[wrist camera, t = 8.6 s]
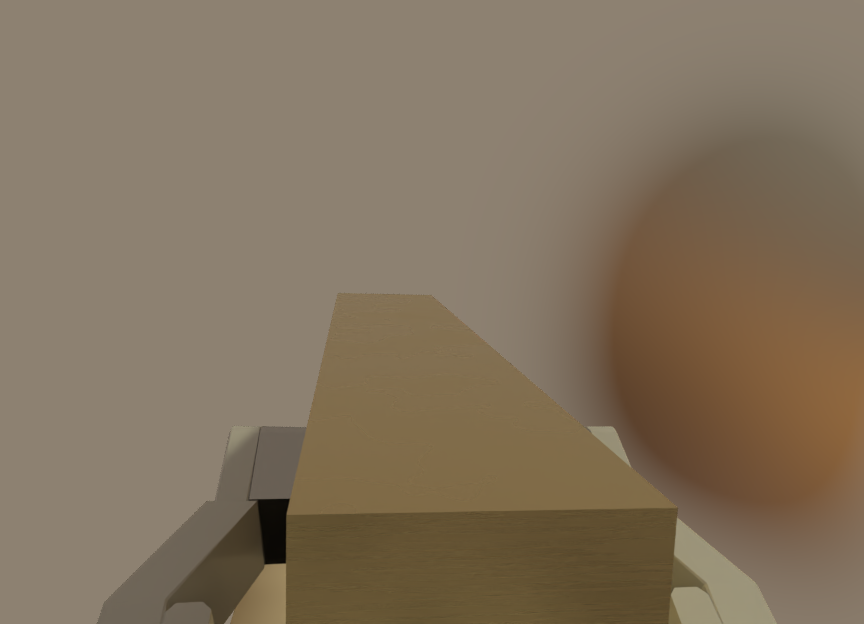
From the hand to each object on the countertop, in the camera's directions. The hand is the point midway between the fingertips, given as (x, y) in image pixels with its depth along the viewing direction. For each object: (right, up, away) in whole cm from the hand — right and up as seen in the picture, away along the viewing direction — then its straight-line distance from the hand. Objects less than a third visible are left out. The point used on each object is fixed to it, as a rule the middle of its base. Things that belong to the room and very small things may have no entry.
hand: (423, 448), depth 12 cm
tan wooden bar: (-1, -2, +5) cm, 6 cm away
